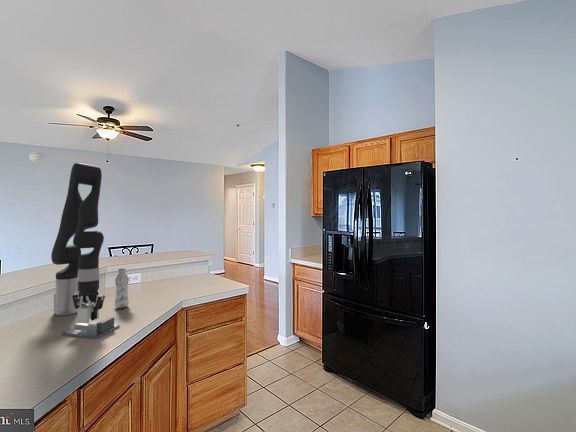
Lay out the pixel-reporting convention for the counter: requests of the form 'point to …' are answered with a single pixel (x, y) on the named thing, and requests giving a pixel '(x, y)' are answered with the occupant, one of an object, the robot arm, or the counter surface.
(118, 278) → the plastic bottle
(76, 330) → the rail plate
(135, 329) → the counter surface
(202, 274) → the counter surface
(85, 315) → the block
